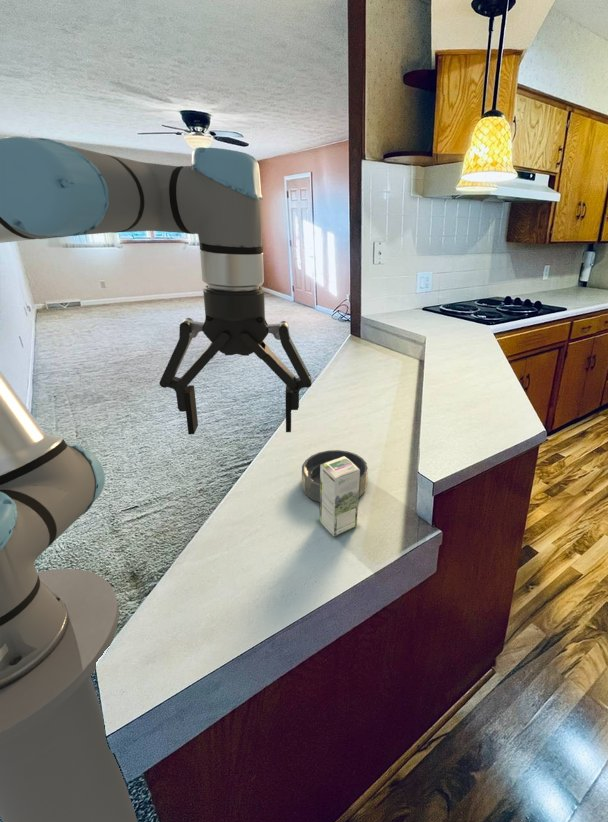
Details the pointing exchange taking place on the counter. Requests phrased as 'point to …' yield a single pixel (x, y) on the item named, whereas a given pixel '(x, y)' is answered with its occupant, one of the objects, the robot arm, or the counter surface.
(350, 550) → the counter surface
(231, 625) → the counter surface
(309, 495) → the bowl
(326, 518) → the syrup box
